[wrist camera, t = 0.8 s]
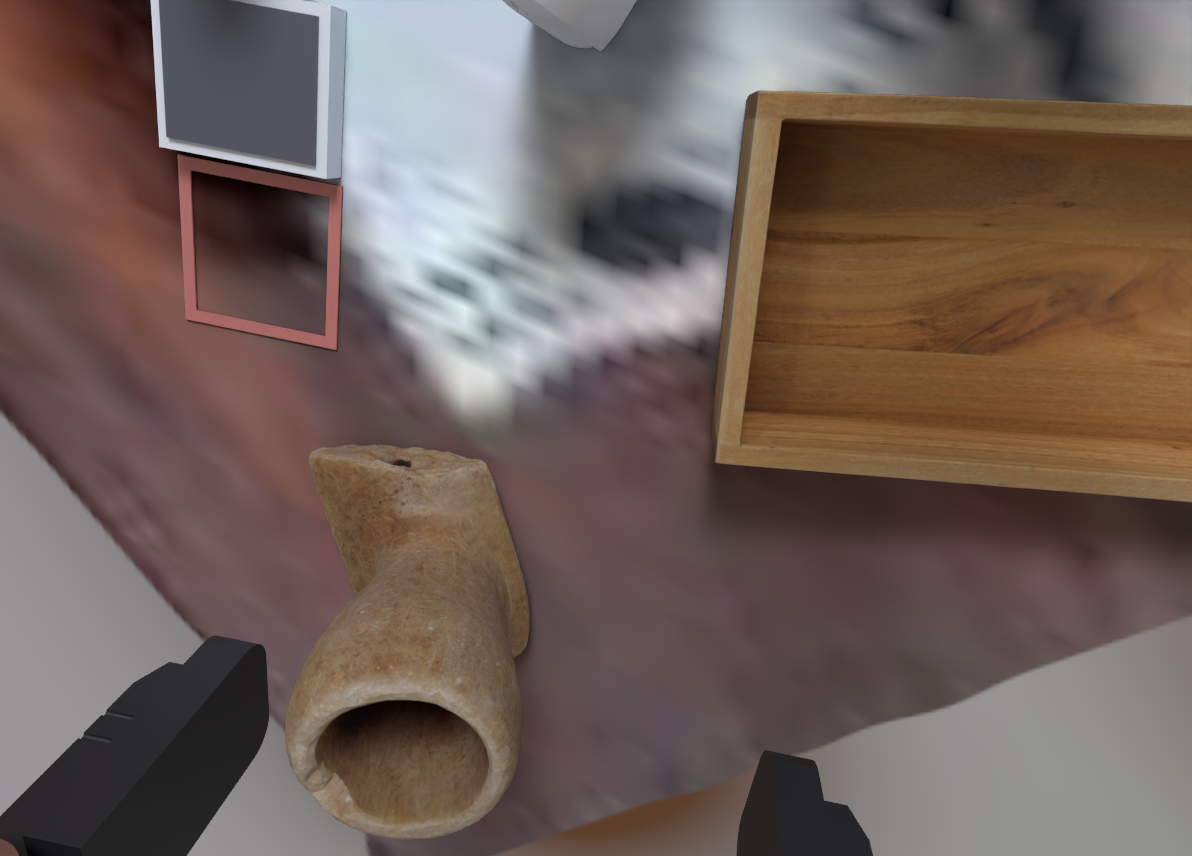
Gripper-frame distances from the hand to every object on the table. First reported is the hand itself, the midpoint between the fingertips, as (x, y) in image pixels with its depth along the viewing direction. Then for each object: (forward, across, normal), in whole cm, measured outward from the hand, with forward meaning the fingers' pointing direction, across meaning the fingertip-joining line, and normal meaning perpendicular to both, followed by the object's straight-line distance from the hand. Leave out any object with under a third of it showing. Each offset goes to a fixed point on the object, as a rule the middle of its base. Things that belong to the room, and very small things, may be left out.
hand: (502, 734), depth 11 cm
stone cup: (+26, +8, +15) cm, 31 cm away
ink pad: (+26, +19, -8) cm, 33 cm away
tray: (+27, -19, -5) cm, 33 cm away
